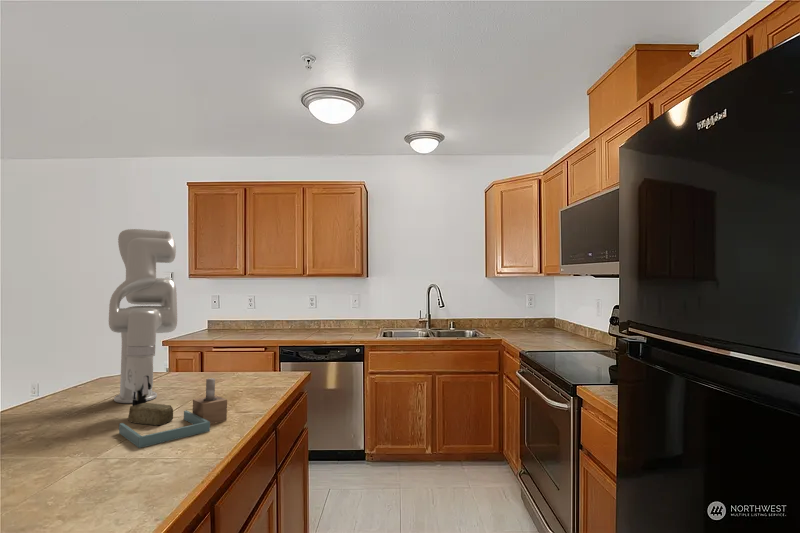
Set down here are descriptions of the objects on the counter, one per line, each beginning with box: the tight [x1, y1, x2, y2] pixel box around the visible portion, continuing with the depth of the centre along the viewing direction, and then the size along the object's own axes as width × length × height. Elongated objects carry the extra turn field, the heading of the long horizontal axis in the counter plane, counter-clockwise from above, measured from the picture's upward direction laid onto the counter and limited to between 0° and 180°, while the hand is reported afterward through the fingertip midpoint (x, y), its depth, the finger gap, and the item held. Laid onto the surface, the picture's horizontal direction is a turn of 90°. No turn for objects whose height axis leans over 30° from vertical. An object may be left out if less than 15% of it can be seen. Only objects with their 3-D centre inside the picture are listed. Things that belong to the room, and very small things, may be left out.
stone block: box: [127, 402, 174, 426], centre depth 130 cm, size 6×12×5 cm, turn 76°
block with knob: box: [192, 377, 228, 425], centre depth 133 cm, size 7×7×12 cm
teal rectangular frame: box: [118, 410, 211, 449], centre depth 122 cm, size 15×18×2 cm
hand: (138, 412), depth 135 cm, fingers closed
